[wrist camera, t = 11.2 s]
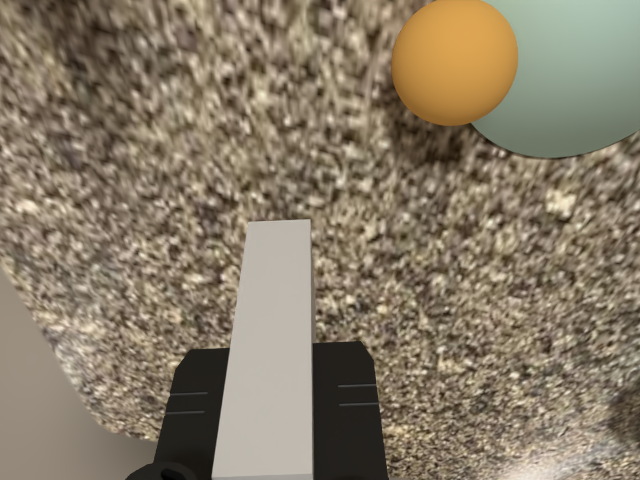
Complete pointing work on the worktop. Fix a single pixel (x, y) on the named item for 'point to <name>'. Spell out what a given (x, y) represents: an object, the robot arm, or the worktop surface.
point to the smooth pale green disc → (569, 77)
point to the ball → (454, 61)
